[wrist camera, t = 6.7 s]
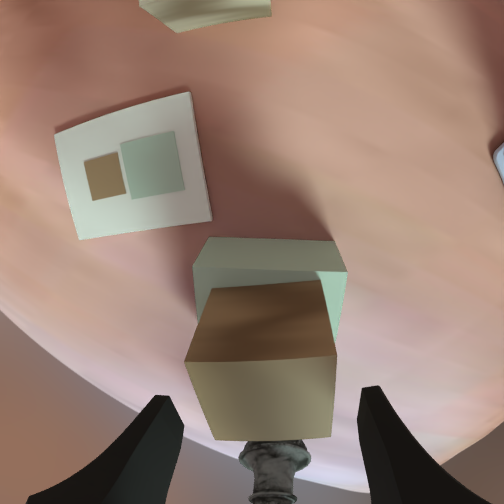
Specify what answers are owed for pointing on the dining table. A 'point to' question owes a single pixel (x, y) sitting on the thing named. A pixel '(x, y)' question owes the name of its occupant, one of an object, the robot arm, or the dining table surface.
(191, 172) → the card
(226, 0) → the ash block
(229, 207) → the dining table surface
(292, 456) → the dark green chess piece
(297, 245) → the base block
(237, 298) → the walnut block
